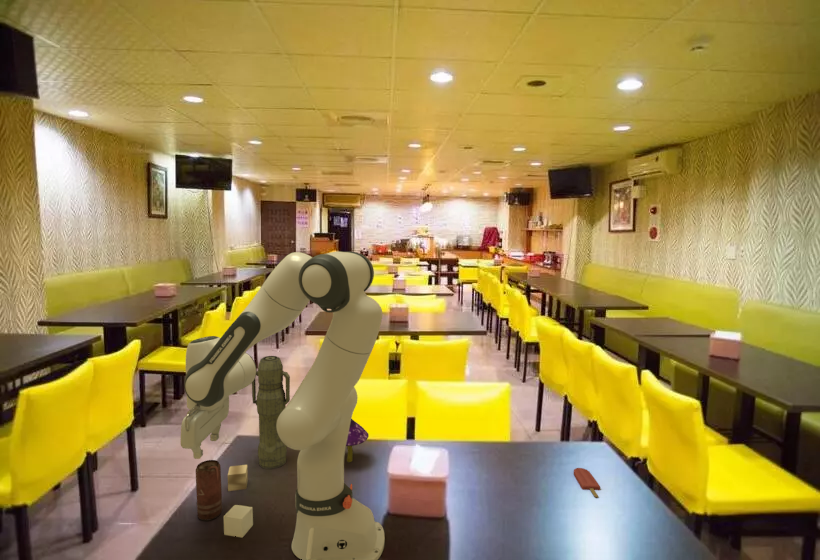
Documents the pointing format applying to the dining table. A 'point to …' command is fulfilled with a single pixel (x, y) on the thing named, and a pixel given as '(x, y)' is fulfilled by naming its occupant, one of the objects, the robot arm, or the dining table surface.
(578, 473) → the popsicle
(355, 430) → the decorative mushroom
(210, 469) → the can
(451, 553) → the dining table surface
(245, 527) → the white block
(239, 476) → the maple block
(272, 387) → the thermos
